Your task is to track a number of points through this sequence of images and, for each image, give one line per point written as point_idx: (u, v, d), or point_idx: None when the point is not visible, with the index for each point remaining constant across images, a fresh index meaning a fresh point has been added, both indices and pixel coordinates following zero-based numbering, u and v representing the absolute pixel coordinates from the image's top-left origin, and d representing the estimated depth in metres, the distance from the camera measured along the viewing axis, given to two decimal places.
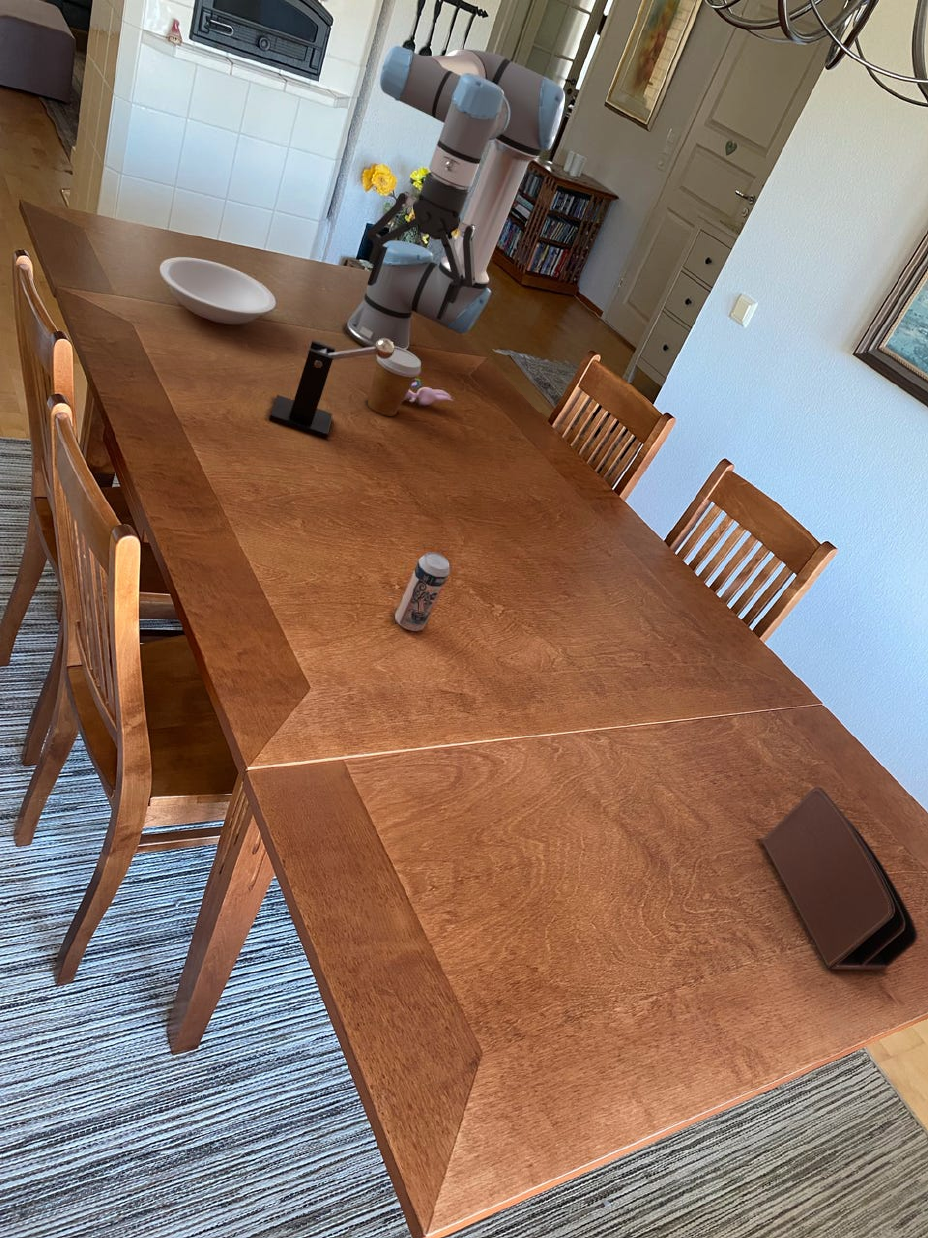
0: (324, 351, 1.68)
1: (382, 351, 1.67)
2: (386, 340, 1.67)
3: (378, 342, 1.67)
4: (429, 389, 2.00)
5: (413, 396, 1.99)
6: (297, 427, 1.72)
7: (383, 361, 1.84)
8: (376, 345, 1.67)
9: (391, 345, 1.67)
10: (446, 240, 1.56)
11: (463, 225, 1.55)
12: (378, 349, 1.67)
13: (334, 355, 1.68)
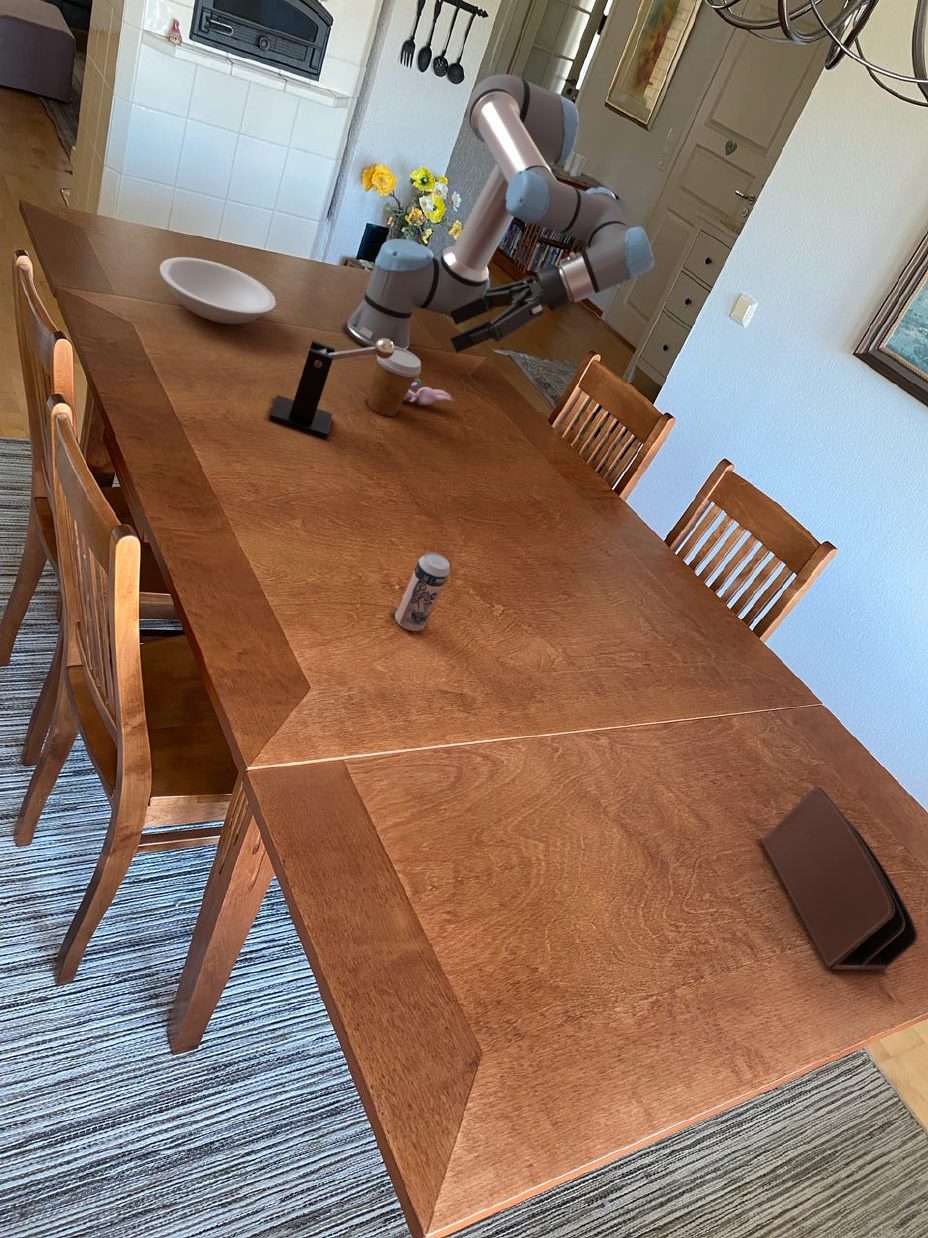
0: (324, 351, 1.68)
1: (382, 351, 1.67)
2: (386, 340, 1.67)
3: (378, 342, 1.67)
4: (429, 389, 2.00)
5: (413, 396, 1.99)
6: (297, 427, 1.72)
7: (383, 361, 1.84)
8: (376, 345, 1.67)
9: (391, 345, 1.67)
10: (517, 299, 1.60)
11: None
12: (378, 349, 1.67)
13: (334, 355, 1.68)
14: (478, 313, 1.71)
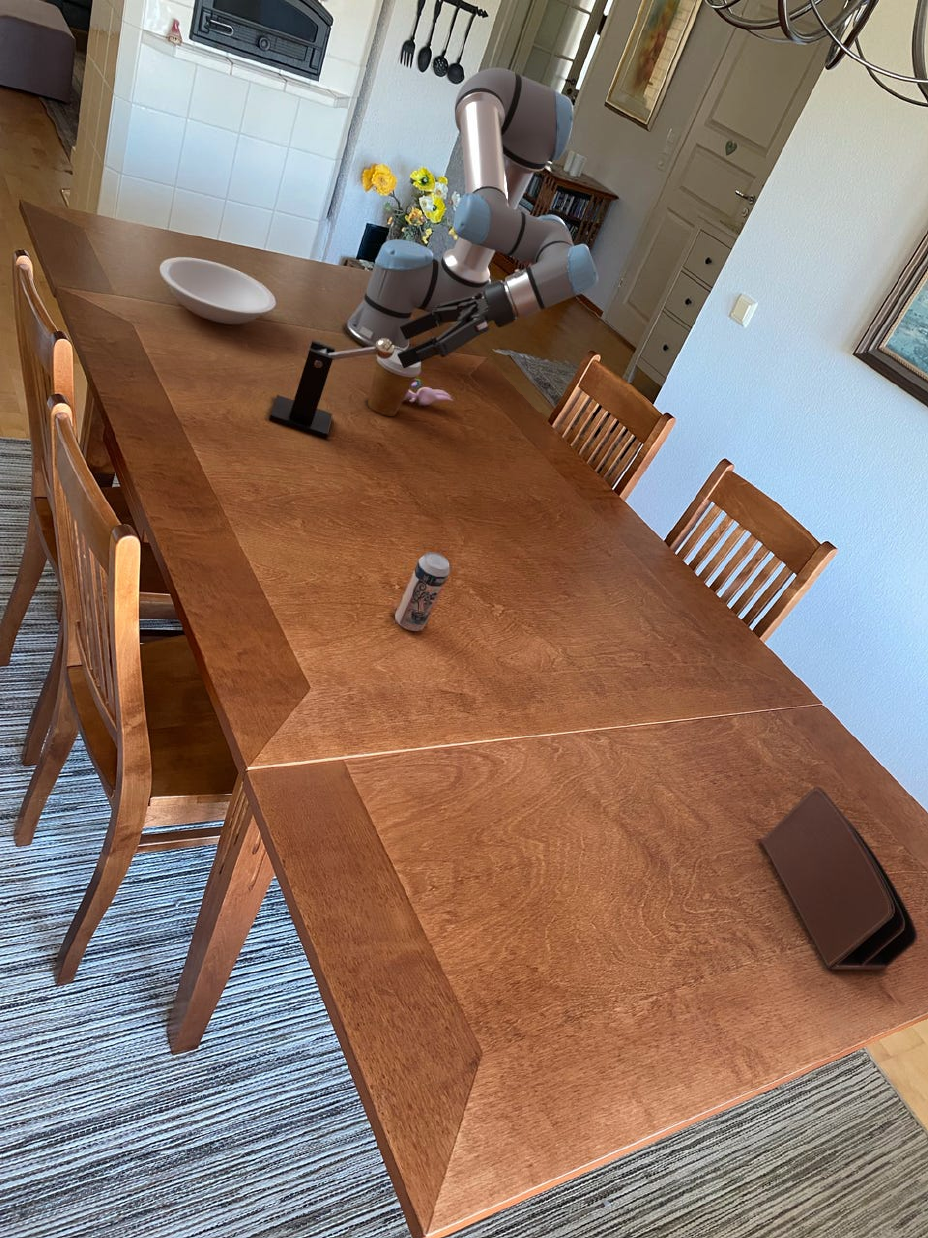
0: (324, 351, 1.68)
1: (382, 351, 1.67)
2: (386, 340, 1.67)
3: (378, 342, 1.67)
4: (429, 389, 2.00)
5: (413, 396, 1.99)
6: (297, 427, 1.72)
7: (383, 361, 1.84)
8: (376, 345, 1.67)
9: (391, 345, 1.67)
10: (463, 316, 1.61)
11: None
12: (378, 349, 1.67)
13: (334, 355, 1.68)
14: (428, 328, 1.72)
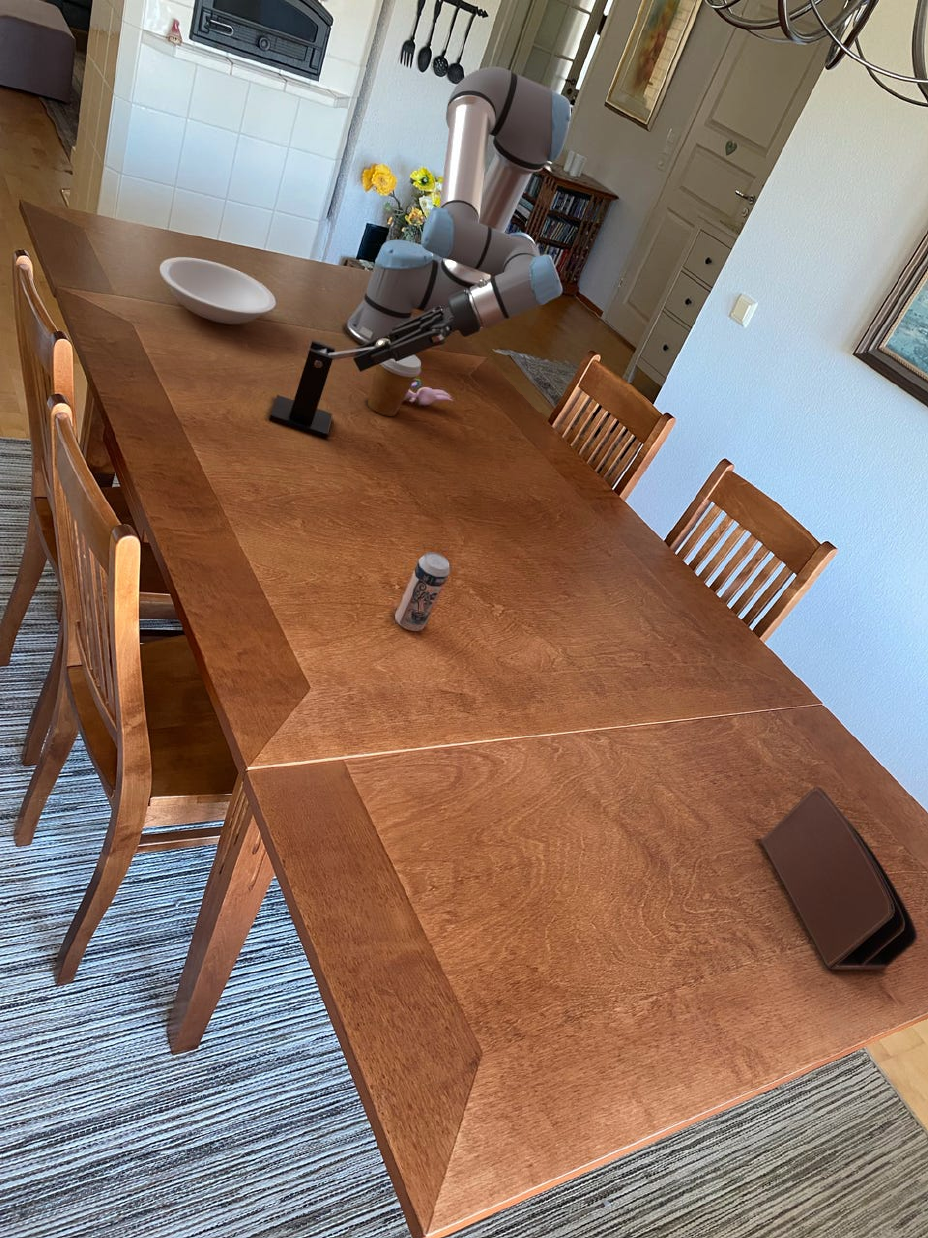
0: (324, 351, 1.68)
1: None
2: (386, 340, 1.67)
3: (378, 342, 1.67)
4: (429, 389, 2.00)
5: (413, 396, 1.99)
6: (297, 427, 1.72)
7: None
8: (376, 345, 1.67)
9: None
10: (424, 324, 1.63)
11: (441, 330, 1.61)
12: None
13: (334, 355, 1.68)
14: None
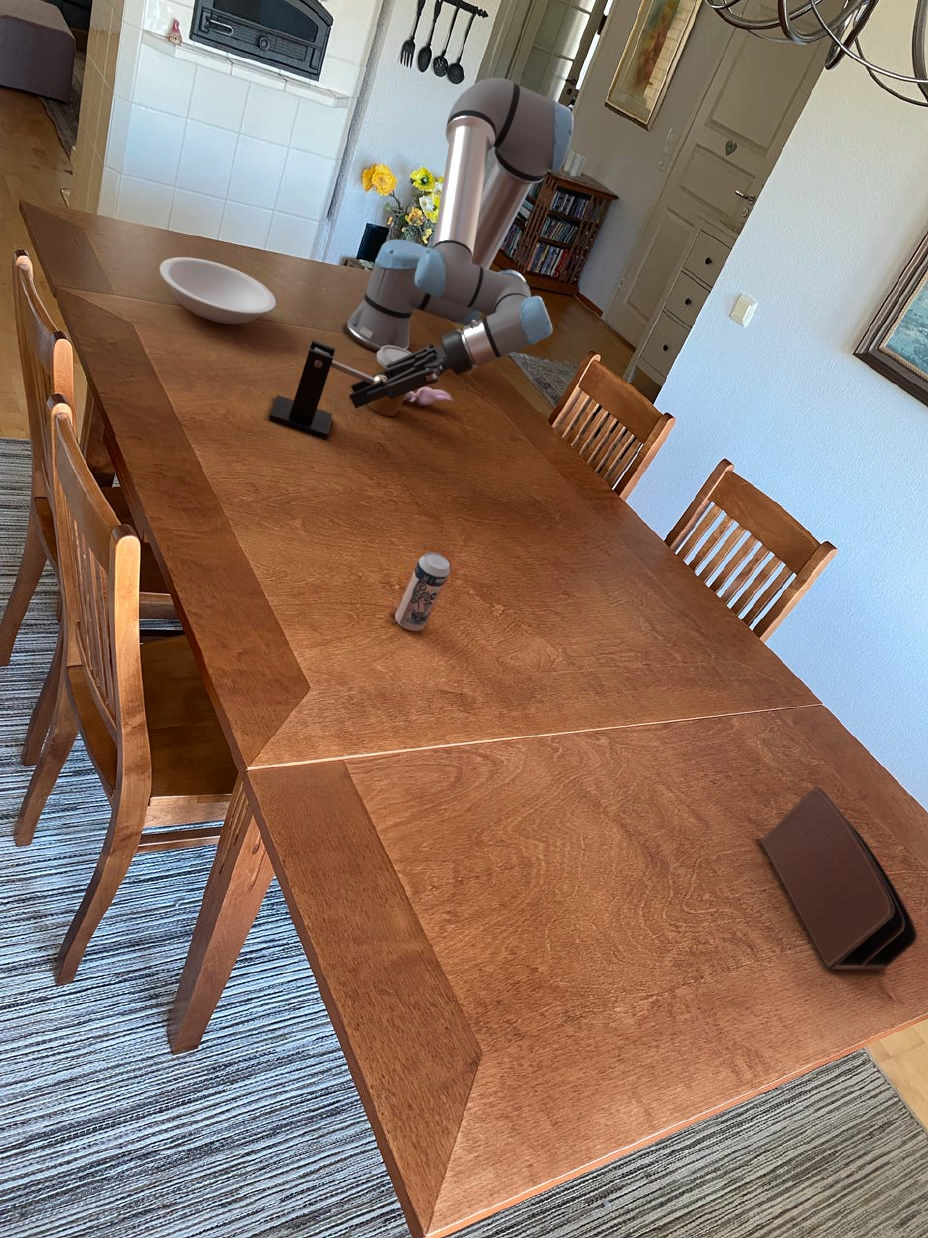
0: None
1: None
2: (387, 379, 1.71)
3: (379, 377, 1.71)
4: (429, 389, 2.00)
5: (413, 396, 1.99)
6: (297, 427, 1.72)
7: (383, 361, 1.84)
8: (376, 378, 1.71)
9: None
10: (418, 363, 1.68)
11: (435, 369, 1.65)
12: None
13: (334, 364, 1.69)
14: None
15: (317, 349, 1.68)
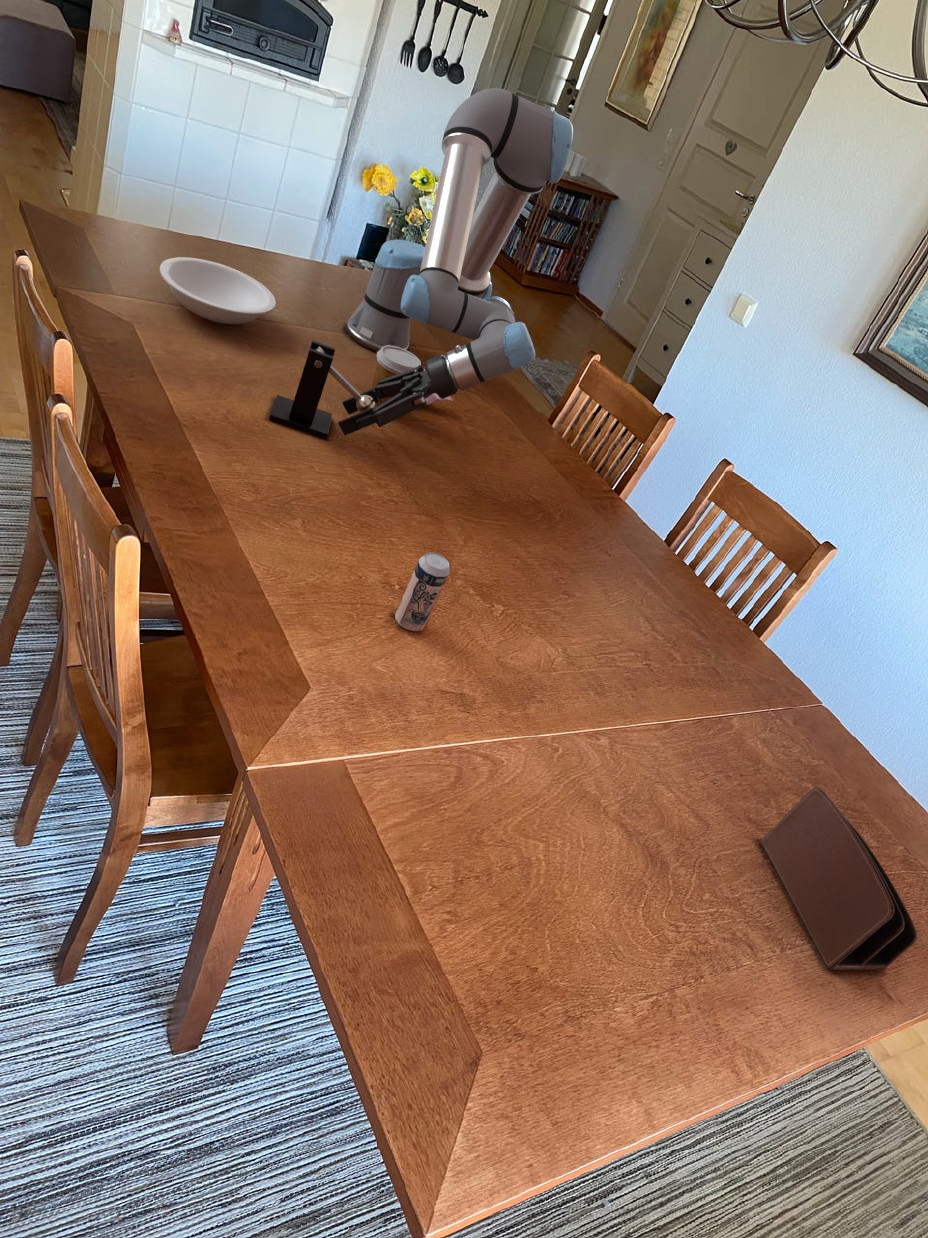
0: None
1: (364, 407, 1.73)
2: (374, 403, 1.74)
3: (368, 398, 1.73)
4: None
5: None
6: (297, 427, 1.72)
7: (383, 361, 1.84)
8: (364, 398, 1.73)
9: None
10: (404, 388, 1.70)
11: (422, 393, 1.68)
12: (363, 402, 1.73)
13: (331, 369, 1.70)
14: None
15: (320, 349, 1.68)
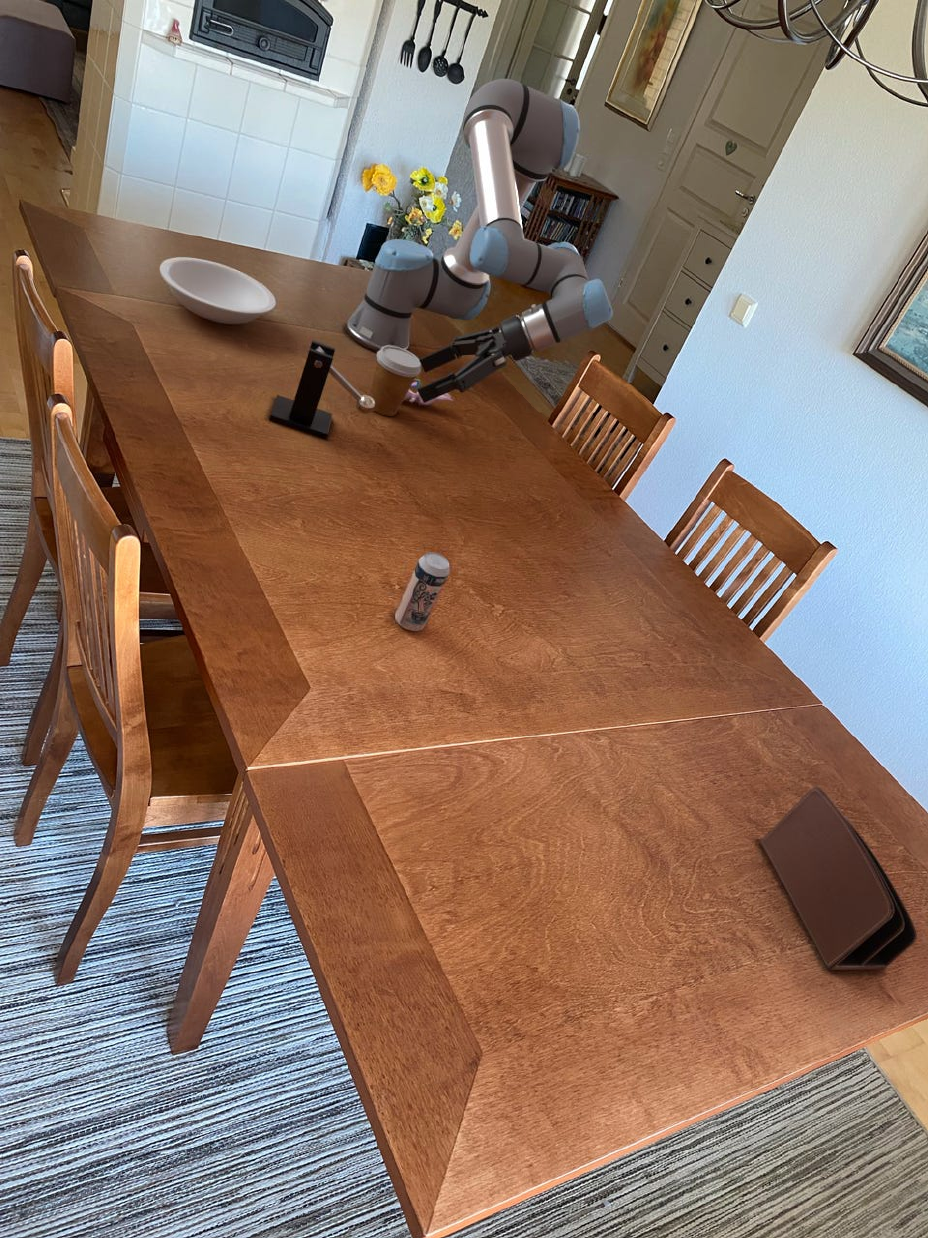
0: None
1: (364, 407, 1.73)
2: (374, 403, 1.74)
3: (368, 398, 1.73)
4: None
5: (413, 396, 1.99)
6: (297, 427, 1.72)
7: (383, 361, 1.84)
8: (364, 398, 1.73)
9: (373, 410, 1.74)
10: (481, 351, 1.65)
11: None
12: (363, 402, 1.73)
13: (331, 369, 1.70)
14: (447, 361, 1.77)
15: (320, 349, 1.68)
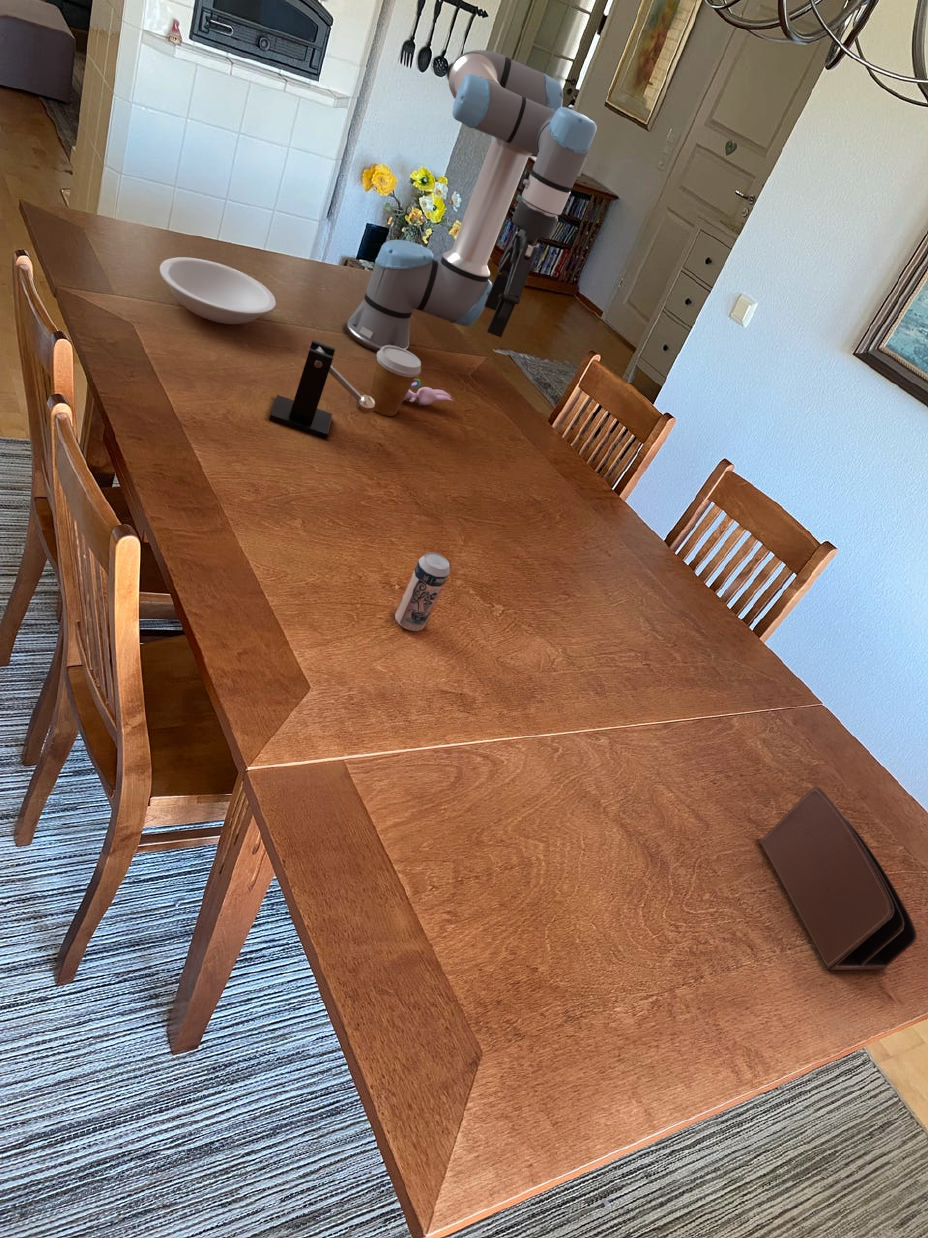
0: None
1: (364, 407, 1.73)
2: (374, 403, 1.74)
3: (368, 398, 1.73)
4: (429, 389, 2.00)
5: (413, 396, 1.99)
6: (297, 427, 1.72)
7: (383, 361, 1.84)
8: (364, 398, 1.73)
9: (373, 410, 1.74)
10: (512, 256, 1.62)
11: None
12: (363, 402, 1.73)
13: (331, 369, 1.70)
14: (505, 287, 1.75)
15: (320, 349, 1.68)
